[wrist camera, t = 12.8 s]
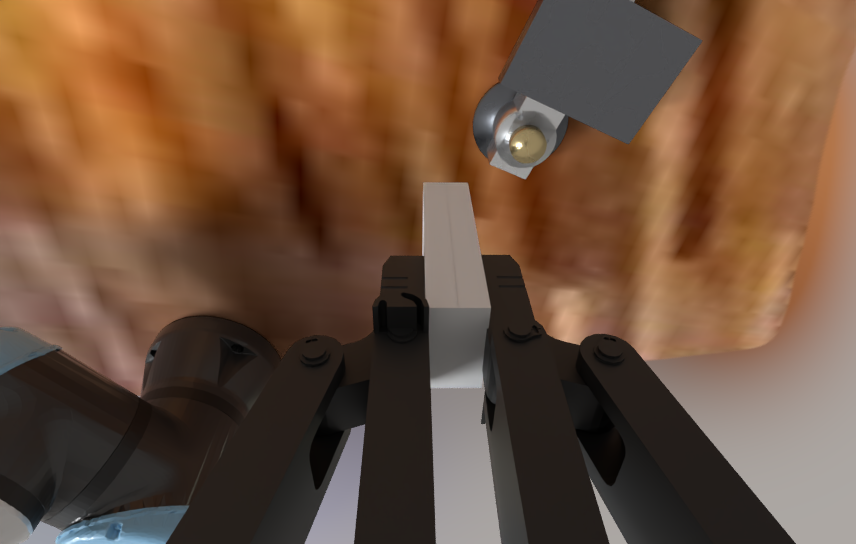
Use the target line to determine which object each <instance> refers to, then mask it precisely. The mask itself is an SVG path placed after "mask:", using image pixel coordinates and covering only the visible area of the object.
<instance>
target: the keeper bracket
mask: <svg viewBox="0 0 856 544" xmlns="http://www.w3.org/2000/svg"><path fill="white" fill-rule="evenodd" d="M701 42H702V40H700V39H699V38H697V37H695V36H693V35H692V34H690V33H688V32H686V31H685V30H683V29H681V28H679V27H678V26H676V25H674V24H672V23H670V22H669V21H667V20H665V19H663V18H661V17H660V16H658V15H656V14H654V13H652V12H651V11H649V10H647V9H645V8H643V7H642V6H640V5H638V4H636V3H634V2H632V1H630V0H538V1H537V3H536V5H535V7H534V9H533V11H532V13H531V15H530V17H529V19H528V21H527V23H526V25H525V27H524V29H523V31H522V33H521V35H520V36H519V38H518V40H517V42H516V44H515V46H514V48H513V50H512V52H511V54H510V56H509V58H508V60H507V62H506V64H505V66H504V68H503V70H502V72H501V74H500V76H499V78H498V79H499V83H497V84H495V85H494V86H493V87H492V88H490V89H489V90H488V91H487V92H486V93H485V95H484V96H483V97H482V98H481V100H480V102H479V104H478V106H477V108H476V110H475V114H474V119H473V132H474V137H475V141H476V143H477V146H478V147H479V149H480V151H481V152H482V153H483V154H484V156H486V157H487V158H488V154H487V147H488V146H489V144H490V142H491V140H492V138H493V130H492V126H493V121H494V118H495V116H496V114H497V112H498V111H499V109H500V108H501V107H502V106H503V105H505V104H506V103H508V102H509V101H511V100H513V99H514V97H515V95H516V94H517V92H518V93H520V94H522V95H525V96H527V97H529V98H531V99H533V100H535V101H537V102H539V103H542V104H544V105H546V106H548V107H550V108H552V109H554V110H556V111H559V112H561V113H563V114H565V116H564V117H563V119H562V121H561V122H560V124H559V126H558V127H557V129H556V134H557V138H556V144H555V147H554V149H553V151H552V153H553V152H554V151H555V150H556V149H557V147H558V146H559V145H560V143H561V141H562V140H563V138H564V135H565V133H566V129H567V125H568V116H569V117H571V118H573V119H576V120H578V121H580V122H582V123H584V124H586V125H588V126H590V127H593V128H595V129H597V130H599V131H601V132H603V133H605V134H607V135H610V136H612V137H614V138H616V139H618V140H620V141H622V142H624V143H627V144H629V143H630V142H631V140H632V139H633V137H634V136H635V135H636V133H637V132H638V130H639V129H640V128H641V126H642V125H643V123H644V122H645V121H646V119H647V118H648V116H649V115H650V114H651V112H652V111H653V109H654V108H655V107H656V105H657V104H658V103H659V101H660V100H661V98H662V97H663V96H664V94H665V93H666V91H667V90H668V89H669V87H670V86H671V84H672V83H673V82H674V80H675V79H676V77H677V76H678V75H679V73H680V72H681V70H682V69H683V68H684V66H685V65H686V63H687V62H688V61H689V59H690V58H691V56H692V55H693V54H694V52H695V51H696V49H697V48H698V47H699V45H700V44H701ZM546 147H547V142H546V139H545V136H544V134H543V132H542V131H541V130H540V129H539V128H538V127H536V126H534V125H523V126H520V127H519V128H517V129H516V130H515V131H514V132H513V133H512V134H511V136H510V139H509V148H510V151H511V154H512V156H513V158H514V159H515V160H516V161H518V162H520V163H524V164H529V163H533V162H536V161H537V160H539V159H540V158H541V157H542V156H543V155H544V153H545V151H546ZM552 153H551V154H552ZM551 154H550V155H551ZM550 155H549V156H550Z"/></svg>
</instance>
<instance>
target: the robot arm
mask: <svg viewBox="0 0 856 544" xmlns="http://www.w3.org/2000/svg"><path fill="white" fill-rule="evenodd" d="M372 308H373V325H374V331H373V332H372V333H371V334H370V335H368V336H367V337H365V338H364V339H362V340H360V341H357V342H354V343H350V344H346V345H341V344H340V343H339V342H338V341H337V340H336V339H334V338H331V337H328V336H321V335H314V336H310V337H306V338H303V339H301V340H299V341H297V342H295V343H294V344H293V345H292V346H291V347H290V348H289V349H288V351H287V352H286V354H285V355H284V357H283V359H282V360H280V358H279V356H278V354H277V352H276V351H275V349H274V348H273V347H272V346H271V344H270V343H269V342H268V341H267V340H265V339H264V338H263V337H262V336H260V335H259V334H258V333H256V332H255V331H253V330H251V329H249V328H247V327H245V326H243V325H241V324H238V323H236V322H233V321H229V320H226V319H221V318H215V317H189V318H184V319H180V320H177V321H175V322H173V323H171V324H169V325H167V326H166V327H165V328H163V329H162V330H161V331H160V333H159V334H158V335H157V337H156V339H155V340H154V342H153V343H152V345H151V347H150V349H149V351H148V353H147V357H146V363H145V369H144V376H143V383H142V390H141V397H138V396H137V395H135V394H133V393H132V392H130V391H128V390H127V389H125V388H124V387H122V386H120V385H119V384H117V383H115V382H114V381H112V380H110V379H109V378H107V377H105V376H104V375H102V374H100V373H99V372H97V371H95V370H94V369H92V368H90V367H89V366H87V365H86V364H84V363H82V362H81V361H79V360H77V359H76V358H74V357H72V356H71V355H69V354H67V353H66V352H64V351H62V350H61V349H62V348H61V347H60V346H58V345H51V344H49V343H47V342H45V341H44V340H42V339H40V338H38V337H36V336H34V335H32V334H30V333H29V332H27V331H25V330H23V329H20V328H17V327H0V544H19V543H21V542H24V541H25V540H27V539H28V538H29V537H30V535H31V534H32V533H33V531H34V530H35V528H36V527H37V525H38V524H39V522H40V521H42V522H44V523H47V524H49V525H51V526H54V527H56V528H58V529H60V530H61V531H62V532H60V533H59V535H58V537H57V538H56V544H304V543H305V541H306V539H307V536H308V534H309V531H310V529H311V527H312V524H313V522H314V519H315V517H316V515H317V512H318V510H319V507H320V505H321V502H322V500H323V498H324V495H325V493H326V490H327V488H328V485H329V483H330V481H331V478H332V476H333V473H334V471H335V469H336V466H337V463H338V461H339V459H340V456H341V454H342V452H343V449H344V447H345V444H346V442H347V440H348V437H349V435H350V432H351V428H354V427H357V426H360V425H364V424H365V434H364V444H363V455H362V466H361V476H360V486H359V497H358V508H357V519H356V529H355V540H354V544H436V540H435V539H436V538H435V508H434V507H435V506H434V479H433V478H434V477H433V449H432V448H433V447H432V416H431V388H482V382H483V379H484V387H485V395H484V403H483V411H482V420H481V424H485V423H486V429H487V436H488V443H489V452H490V459H491V467H492V474H493V482H494V490H495V497H496V505H497V513H498V520H499V528H500V536H501V543H502V544H609V541H608V537H607V534H606V531H605V527H604V524H603V521H602V517H601V514H600V511H599V507H598V504H597V501H596V497H595V494H594V491H593V487H592V484H591V481H590V478H591V480H592V482H593V484H594V485H595V487H596V489H597V491H598V492H599V494H600V496H601V498H602V500H603V501H604V503H605V505H606V506H607V508H608V510H609V512H610V514H611V515H612V517H613V519H614V521H615V522H616V524H617V526H618V528H619V529H620V531H621V533H622V535H623V536H624V538H625V540H626V542H627V543H628V544H796V543H795V542H794V541H793V540H792V538H791V537H790V536H789V535H788V534H787V532H786V531H785V530H784V529H783V528H782V527H781V525H780V524H779V523H778V522H777V520H776V519H775V518H774V517H773V516H772V514H771V513H770V512H769V511H768V510H767V508H766V507H765V506H764V505H763V503H762V502H761V501H760V500H759V499H758V497H757V496H756V495H755V494H754V493H753V491H752V490H751V489H750V488H749V487H748V485H747V484H746V483H745V482H744V481H743V479H742V478H741V477H740V476H739V475H738V473H737V472H736V471H735V470H734V469H733V467H732V466H731V465H730V464H729V463H728V461H727V460H726V459H725V458H724V456H723V455H722V454H721V453H720V452H719V451H718V449H717V448H716V447H715V446H714V444H713V443H712V442H711V441H710V440H709V438H708V437H707V436H706V435H705V434H704V432H703V431H702V430H701V429H700V428H699V426H698V425H697V424H696V423H695V421H694V420H693V419H692V418H691V417H690V415H689V414H688V413H687V412H686V411H685V409H684V408H683V407H682V406H681V405H680V404H679V402H678V401H677V400H676V399H675V397H674V396H673V395H672V394H671V393H670V391H669V390H668V389H667V388H666V387H665V385H664V384H663V383H662V382H661V381H660V379H659V378H658V377H657V376H656V374H655V373H654V372H653V371H652V370H651V368H650V367H649V366H648V365H647V364H646V362H645V361H644V360H643V359H642V358H641V356H640V355H639V354H638V353H637V352H636V350H635V349H634V348H633V347H632V346H631V345H629V344H628V343H627V342H626V341H624V340H622V339H620V338H618V337H616V336H612V335H607V334H594V335H591V336H588V337H586V338H585V339H584V340H583V341H582V342H581V344H580V345H576V344H572V343H568V342H564V341H560V340H557V339H555V338H553V337H551V336H549V335H547V334H546V331H545V330H544V328H543V326H542V325H541V324H539V323H538V322H537V321H535V319H534V315H533V312H532V308H531V305H530V301H529V298H528V294H527V291H526V288H525V284H524V280H523V279H522V273H521V270H520V266H519V264H518V263H517V262H516V261H515V260H514V259H513V258H512V257H511V256H510V255H481V251H480V246H479V240H478V235H477V230H476V224H475V219H474V213H473V208H472V203H471V197H470V192H469V186H468V183H440V182H423V240H422V256H390V257H389V259H388V260H387V261H386V262H385V264H384V265H383V269H382V280H381V291H380V296H379V297H378V298H377V299H376V300H375V302H374V304H373V306H372Z"/></svg>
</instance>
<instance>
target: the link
mask: <svg viewBox="0 0 856 544" xmlns="http://www.w3.org/2000/svg"><path fill="white" fill-rule="evenodd" d="M630 1H632V2H634V1H635V0H630ZM564 116H565V114H563V113H561V112H559V111H556V110H554V109H552V108H550V107H548V106H546V105H544V104H542V103H539V102H537V101H535V100H533V99H531V98H529V97H527V96H525V95H522V94H520V93H518V92H517V94H516V95H515V97H514V99H513V100H511V101H509V102H508V103H506V104H505V105H503V106H502V107H501V108H500V109H499V111H498V112H497V114H496V116H495V118H494V121H493V126H492V130H493V138H492V140H491V142H490V144H489V146H488V147H487V154H488V159H489V164H490V165H492V166H495V167H497V168H499V169H502V170H504V171H507V172H509V173H511V174H514V175H516V176H518V177H521V178H523V179H526V178H527V176H528V175H529V173H530V171H531V170H532V168H533V167H534V166H536V165H538V164H540V163H541V162H543V161H544V160H545V159H546V158H548V156H549V155H550V154H551V153H552V151H553V149H554V147H555V144H556V138H557V134H556V129H557V127H558V126H559V124H560V122H561V121H562V119H563V117H564ZM523 125H534V126H536V127H538V128H539V129H540V130H541V131H542V132H543V134H544V136H545V139H546V142H547V147H546V151H545V153H544V155H543V156H542V157H541V158H540V159H539V160H537V161H536V162H533V163H529V164H524V163H520V162H518V161H516V160H515V159H514V158H513V156H512V154H511V151H510V148H509V139H510V136H511V134H512V133H513V132H514V131H515V130H516V129H517V128H519V127H520V126H523Z"/></svg>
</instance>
